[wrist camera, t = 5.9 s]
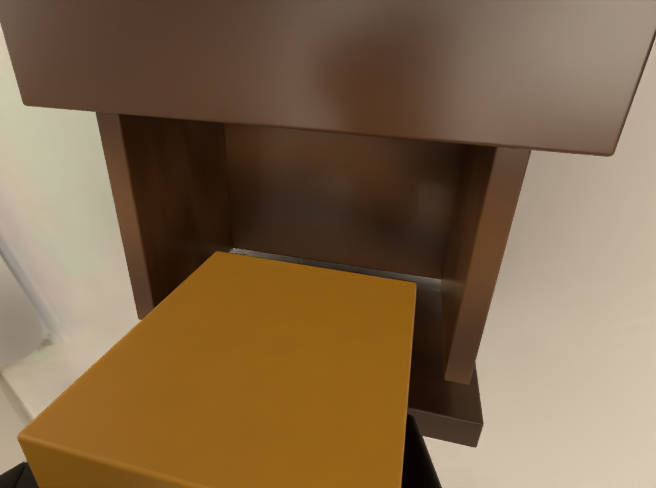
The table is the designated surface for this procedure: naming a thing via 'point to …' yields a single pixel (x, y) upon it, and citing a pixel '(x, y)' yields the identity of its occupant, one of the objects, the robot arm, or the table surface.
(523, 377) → the table surface
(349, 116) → the cabinet
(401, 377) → the orange rectangular block
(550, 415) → the table surface
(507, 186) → the drawer
